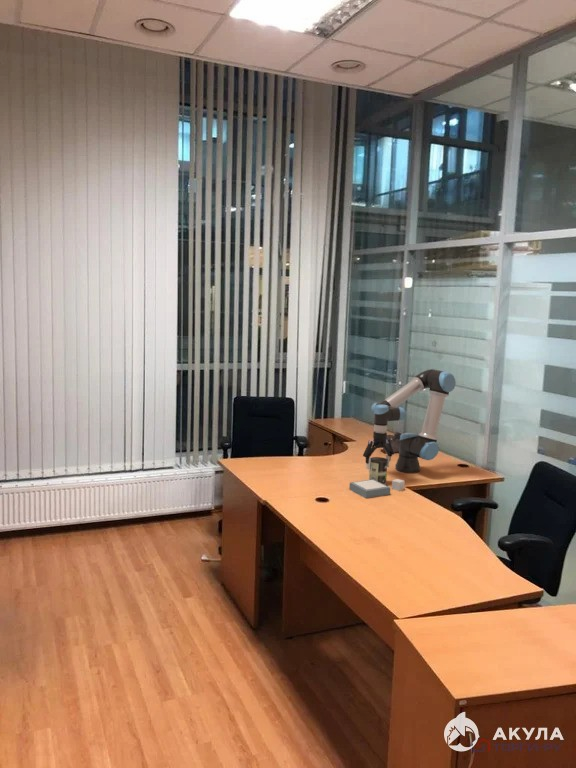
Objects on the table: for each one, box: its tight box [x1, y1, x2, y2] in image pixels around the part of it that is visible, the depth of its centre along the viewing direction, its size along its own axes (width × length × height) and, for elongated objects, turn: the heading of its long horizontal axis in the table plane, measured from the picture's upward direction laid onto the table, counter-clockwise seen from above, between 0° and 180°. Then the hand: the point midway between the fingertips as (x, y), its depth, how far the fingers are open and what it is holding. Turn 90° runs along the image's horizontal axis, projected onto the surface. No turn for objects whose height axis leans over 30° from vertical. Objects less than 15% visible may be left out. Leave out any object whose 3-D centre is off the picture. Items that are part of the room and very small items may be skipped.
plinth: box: [348, 479, 391, 499], centre depth 345 cm, size 16×16×4 cm
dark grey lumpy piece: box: [385, 431, 402, 453], centre depth 431 cm, size 14×15×20 cm
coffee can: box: [368, 456, 388, 485], centre depth 361 cm, size 10×10×14 cm
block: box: [391, 478, 405, 492], centre depth 351 cm, size 5×5×5 cm
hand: (377, 467), depth 360 cm, fingers open, 13 cm apart
